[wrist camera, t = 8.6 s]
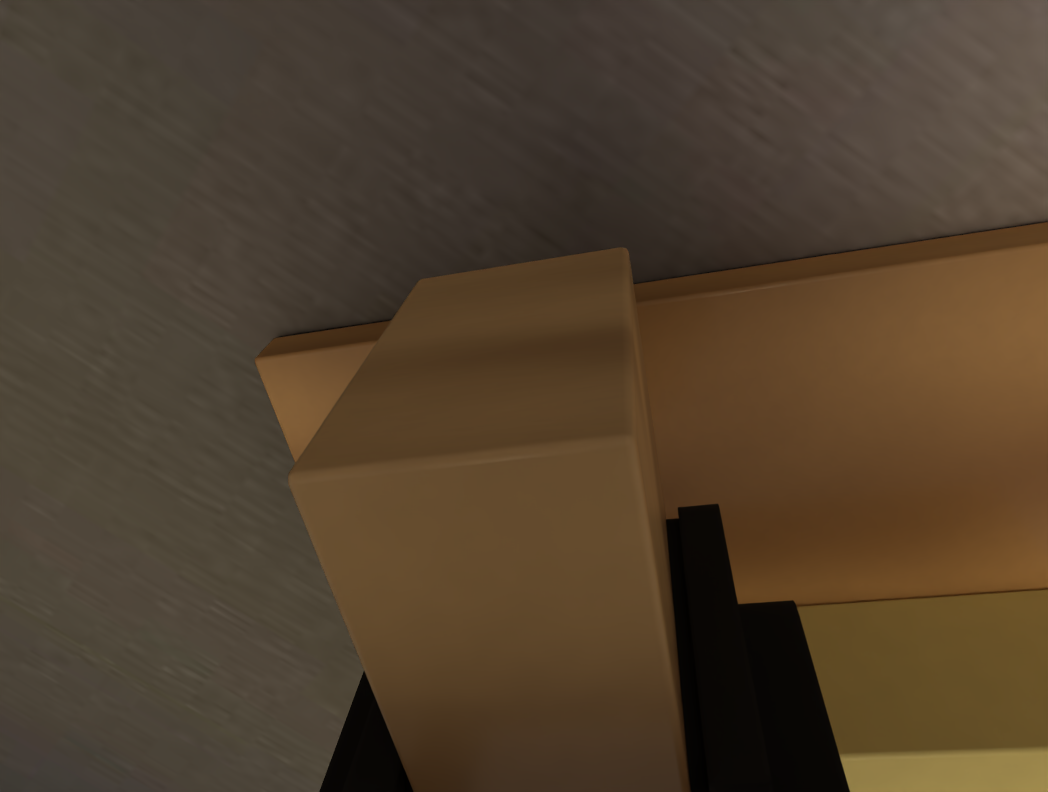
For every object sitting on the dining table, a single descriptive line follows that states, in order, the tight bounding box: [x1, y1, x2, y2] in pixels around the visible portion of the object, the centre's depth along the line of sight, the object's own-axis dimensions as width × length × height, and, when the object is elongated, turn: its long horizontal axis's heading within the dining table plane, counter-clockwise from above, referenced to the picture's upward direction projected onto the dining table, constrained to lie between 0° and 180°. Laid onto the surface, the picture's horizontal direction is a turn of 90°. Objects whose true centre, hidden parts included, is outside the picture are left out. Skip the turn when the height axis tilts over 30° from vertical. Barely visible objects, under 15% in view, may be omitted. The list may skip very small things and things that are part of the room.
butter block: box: [797, 589, 1048, 792], centre depth 15 cm, size 6×8×4 cm
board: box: [255, 222, 1048, 606], centre depth 18 cm, size 20×16×1 cm
